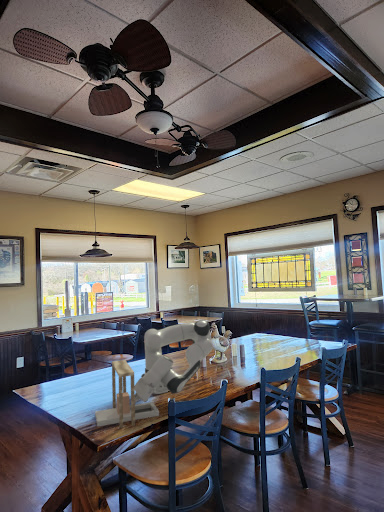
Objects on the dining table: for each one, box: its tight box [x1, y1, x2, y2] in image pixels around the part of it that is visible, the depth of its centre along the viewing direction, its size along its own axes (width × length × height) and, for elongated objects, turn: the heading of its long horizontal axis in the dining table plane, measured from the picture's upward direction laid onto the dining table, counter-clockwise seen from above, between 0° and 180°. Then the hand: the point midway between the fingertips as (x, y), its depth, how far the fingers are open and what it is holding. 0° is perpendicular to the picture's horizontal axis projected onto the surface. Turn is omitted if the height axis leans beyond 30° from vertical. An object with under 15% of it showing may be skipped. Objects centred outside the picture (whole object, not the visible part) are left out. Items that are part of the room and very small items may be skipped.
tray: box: [94, 401, 160, 427], centre depth 185 cm, size 32×14×2 cm, turn 110°
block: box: [116, 391, 131, 415], centre depth 185 cm, size 6×6×9 cm
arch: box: [111, 359, 136, 429], centre depth 185 cm, size 8×28×26 cm, turn 20°
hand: (133, 402), depth 187 cm, fingers closed
